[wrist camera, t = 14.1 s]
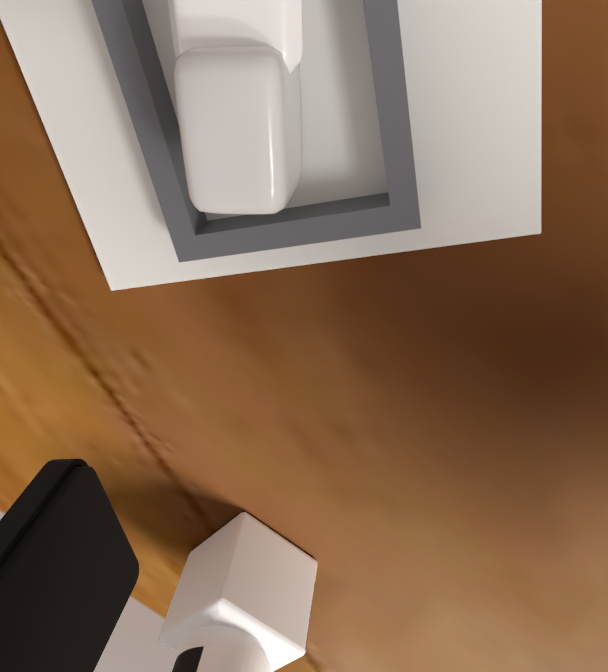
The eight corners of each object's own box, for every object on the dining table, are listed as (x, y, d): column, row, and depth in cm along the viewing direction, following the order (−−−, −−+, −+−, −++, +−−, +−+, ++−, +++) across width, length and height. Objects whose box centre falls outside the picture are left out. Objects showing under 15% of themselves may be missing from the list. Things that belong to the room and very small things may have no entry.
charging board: (535, -399, 17) (559, -467, 15) (536, 225, 27) (551, 250, 24) (-65, -180, 22) (-125, -202, 20) (118, 282, 32) (94, 308, 29)
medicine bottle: (260, 597, 45) (221, 774, 35) (188, 551, 43) (124, 722, 33) (320, 560, 42) (294, 743, 32) (244, 508, 40) (191, 684, 30)
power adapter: (183, -123, 21) (117, -158, 16) (312, -130, 20) (285, -169, 16) (214, 178, 27) (173, 220, 22) (316, 179, 26) (297, 223, 21)
